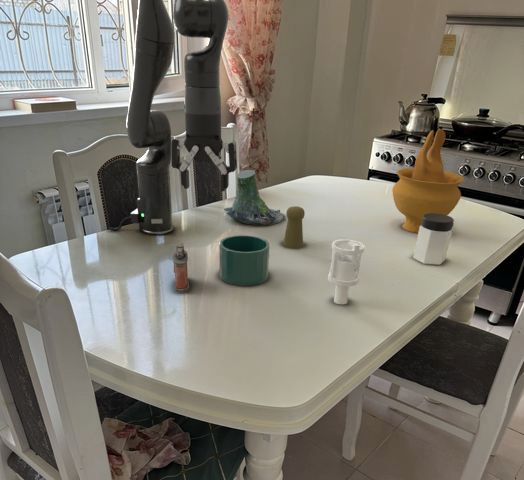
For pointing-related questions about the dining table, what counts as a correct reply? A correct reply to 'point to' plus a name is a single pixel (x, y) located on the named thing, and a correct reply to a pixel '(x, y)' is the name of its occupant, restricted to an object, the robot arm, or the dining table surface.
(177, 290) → the lighter
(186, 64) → the robot arm
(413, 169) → the decorative bowl
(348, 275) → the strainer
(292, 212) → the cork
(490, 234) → the dining table surface
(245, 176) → the tree stump
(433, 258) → the jar
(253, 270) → the ceramic cup
